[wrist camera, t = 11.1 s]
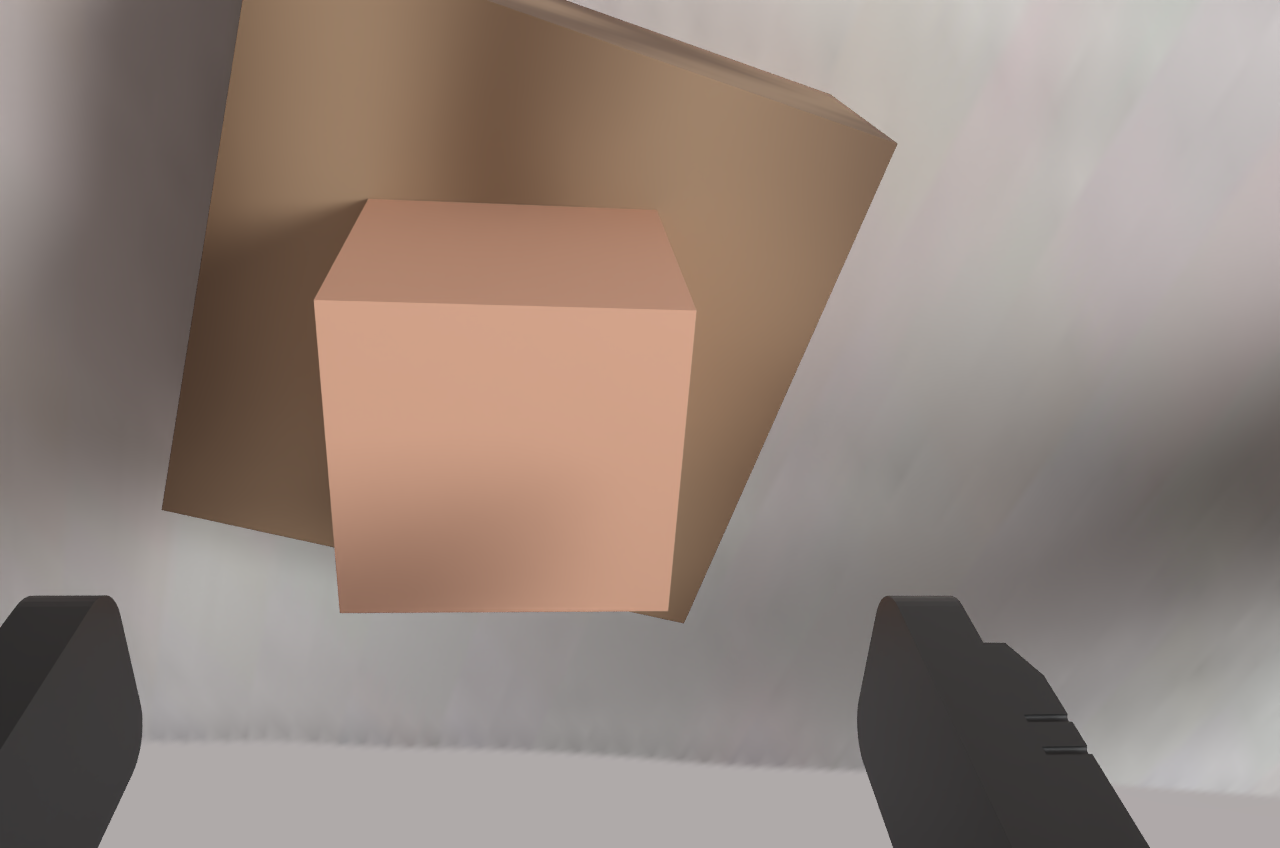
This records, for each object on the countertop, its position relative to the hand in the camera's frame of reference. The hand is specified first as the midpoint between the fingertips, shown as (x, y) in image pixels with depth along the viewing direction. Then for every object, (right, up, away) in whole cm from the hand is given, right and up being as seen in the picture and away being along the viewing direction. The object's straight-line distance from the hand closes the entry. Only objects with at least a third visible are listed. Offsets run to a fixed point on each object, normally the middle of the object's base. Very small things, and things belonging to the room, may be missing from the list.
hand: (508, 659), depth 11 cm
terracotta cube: (-1, +4, +8) cm, 9 cm away
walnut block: (-1, +7, +13) cm, 14 cm away
